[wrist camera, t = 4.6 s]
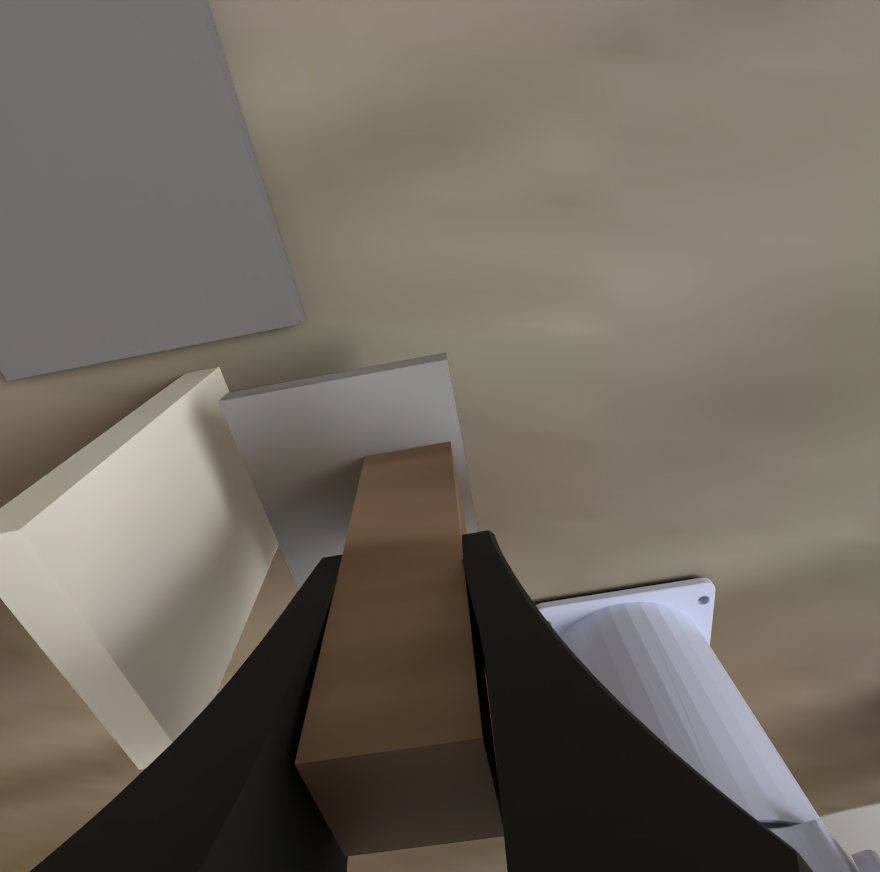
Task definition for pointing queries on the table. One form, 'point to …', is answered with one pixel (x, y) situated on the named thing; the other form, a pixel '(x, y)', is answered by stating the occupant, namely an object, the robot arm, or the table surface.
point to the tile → (142, 563)
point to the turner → (381, 598)
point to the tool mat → (127, 188)
